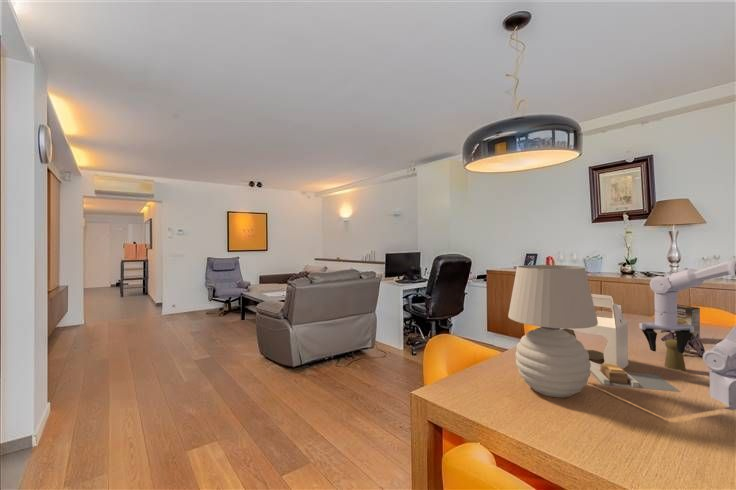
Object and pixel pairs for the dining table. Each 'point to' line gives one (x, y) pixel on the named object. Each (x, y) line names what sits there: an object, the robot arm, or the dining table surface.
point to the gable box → (608, 333)
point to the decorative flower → (691, 344)
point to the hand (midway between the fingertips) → (666, 351)
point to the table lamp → (552, 327)
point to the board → (636, 381)
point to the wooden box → (614, 373)
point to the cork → (674, 356)
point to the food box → (689, 318)
